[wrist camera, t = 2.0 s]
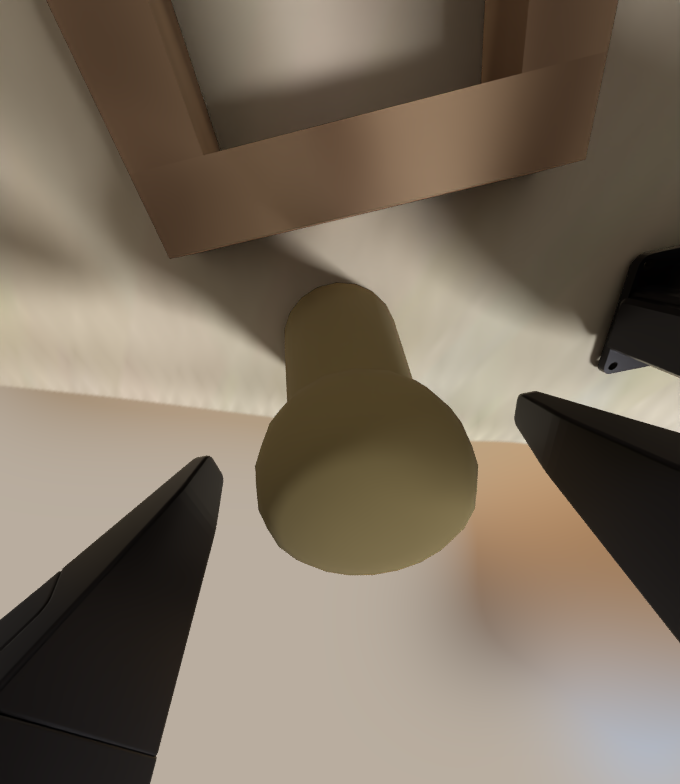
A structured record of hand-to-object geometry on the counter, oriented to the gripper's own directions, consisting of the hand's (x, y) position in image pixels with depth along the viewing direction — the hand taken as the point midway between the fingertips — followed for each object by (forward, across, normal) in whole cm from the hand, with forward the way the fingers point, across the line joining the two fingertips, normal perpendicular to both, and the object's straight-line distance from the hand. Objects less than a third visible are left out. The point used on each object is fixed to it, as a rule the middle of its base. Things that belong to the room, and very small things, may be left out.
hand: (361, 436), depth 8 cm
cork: (+8, 0, 0) cm, 8 cm away
